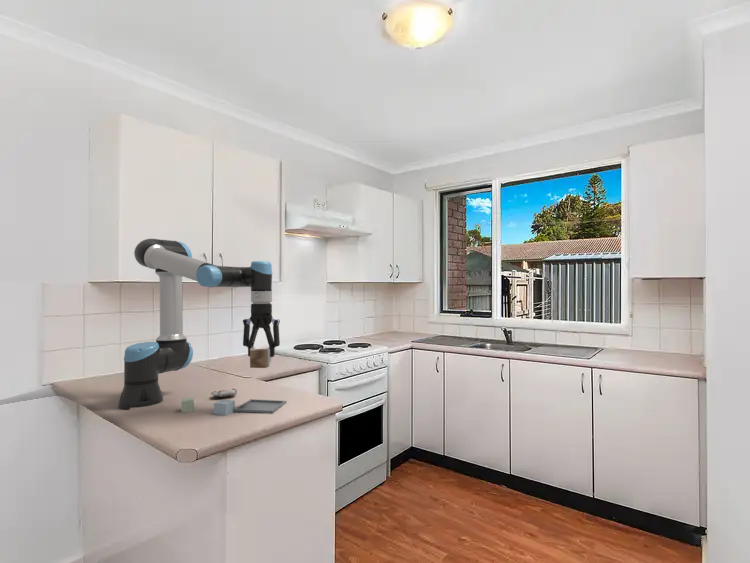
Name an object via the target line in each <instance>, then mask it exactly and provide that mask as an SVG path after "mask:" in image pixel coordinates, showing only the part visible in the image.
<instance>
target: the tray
mask: <svg viewBox="0 0 750 563" xmlns="http://www.w3.org/2000/svg"><path fill="white" fill-rule="evenodd" d="M286 404H287V400H275V399H273V400H272V399H257V398H256V399H255V398H254V399H253V398H250V399H249V400H247V401H245V402H243V403H242V404H239V405H238V406H237V407H235V409H234V412H233V413H241V414H242V413H245V414H272V415H273V414H274V413H275V412H277V411H278V410H279V409H281V408H282V407H283V406H284V405H286Z"/></svg>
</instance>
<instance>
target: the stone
mask: <svg viewBox="0 0 750 563" xmlns="http://www.w3.org/2000/svg"><path fill="white" fill-rule="evenodd" d="M210 394H211V396H213V397H215V398H223V397H224V398H226V397H227V396H230V397H232V396H233V397H234V396H236V395H237V394H238V392H237V388H231V389H227V390H226V389H225V390H224V389H223V390H218V391H216V390H215V391H213V392H211V393H210Z"/></svg>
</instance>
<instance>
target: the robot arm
mask: <svg viewBox="0 0 750 563" xmlns="http://www.w3.org/2000/svg"><path fill="white" fill-rule="evenodd" d="M133 255H134V259H135V260H136V262H137V263H138V264H140V266H142V267H145V268H148V269H152V270H155V274H156V275H157V276H158V277H159V278H158V280H159V336H157V337H156V339H155V341H144V342H138V343H135V344H131V345H129V346H128V347H126V349H125V350H124V354H123V361H124V365H123V366H124V369H123V371H124V373H123V374H124V375H123V376H124V379H123V382H124V383H123V385H124V386H123V388H122V391H121V394H120V396H119V400H118V408H120V409H122V410H130V409H133V408H134V409H137V408H144V407H150V406H155V405H158V404H160V403H162V402H163V401H164V396H163V394H162V390H161V387H160V384H159V374H164V373H169V372H176V371H179V370H181V369H182V370H183V369H185V368H186V367H188V366H189V364H190V363H191V362H192V359H193V357H194V349H193V346H192V345H191V343H190V342H189V341H187V338H188V337H186V336H185V335H184V334H183V330H184V329H183V278H186V279H189V280H192V281H196V282H198V283H197V284H199V286H201V287H205V288H206V287H207V288H247V287H249V288H250V303H251V304H250V314H251V315H250V317H248V318H245V319H243V320H242V322H243V323H242V324H243V337H242V346H243V347H246V348H247V356H248V357H250V351H252V350H255V349H256V347H255V342H256V338H257V335H258V332H259V330H260V329H263V331H264V333H265V337H266V340H267V344H268V348H266V349H267V353H268V367H267V368H269V367H272V366H273V357H275V352H276V351H275V349H276V347H279V346H280V342H281V341H280V326H279V325H280V322H281V320H280V319H276V318H273V308H272V307H273V304H272V303H271V302H272V301H273V289H272V288H273V287H272V286H273V283H272V281H273V267H272V263H271V262H270V261H267V260H266V261H265V260H255V261H251V263H250V266H224V265H217V264H212V263H209V262H206V261H203V260H201V259H196V258H194V257H193V254H192V251H191V249H190V247H189V246H188V245H187V244H186V243H184V242H181V241H177V240H170V239H169V240H168V239H157V238H146V239H143V240H141V241H139V242H138V243H137V244H136V246H135V248H134V252H133ZM271 323H272V329H271ZM250 324H252V328H251V325H250ZM250 330H251V333H250ZM271 330H272V331H271ZM272 332H273V334H272Z"/></svg>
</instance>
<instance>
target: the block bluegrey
mask: <svg viewBox="0 0 750 563" xmlns="http://www.w3.org/2000/svg"><path fill="white" fill-rule="evenodd" d="M235 406H236V401H235V400H230V399H221V400H218V401H216V402H213V414H214V415H218V416H227V415H230V414H232V413H235V412H234V409H235V408H236V407H235Z"/></svg>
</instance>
